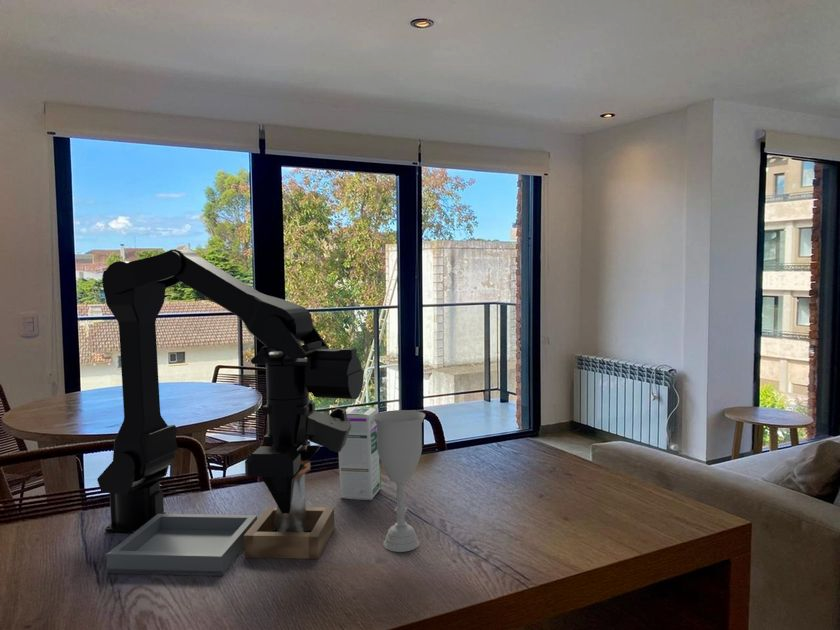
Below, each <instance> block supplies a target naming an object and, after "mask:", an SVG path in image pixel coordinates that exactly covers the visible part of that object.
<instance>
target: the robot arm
mask: <svg viewBox="0 0 840 630" xmlns="http://www.w3.org/2000/svg"><path fill="white" fill-rule="evenodd" d="M102 273H103V274H102V277H101V278H102V279H101V283H102V289H103V293H104V298H105V304H106V306H107V307H108V310H109V311H110V312H111V313H112V315H113V316H114V318H115V319H116V321H117V323H118V333H119V334H118V335H119V347H120V348H119V350H120V352H119V353H120V366H121V383H122V384H121V387H122V402H123V404H122V405H123V421H122V424H121V425H120V428H119V430H118V432H117V434H116V436H115V439H114V443H113V454H112V455H113V456H112V462H111V463H110V464H109V465H108V466H107V467H106V468H105V469H104V471H102V473H101V474H100V475H99V476H98V477H97V479H96V480H97V484H98V486H99V490H100V492H101V493H105V494H109V507H110V523H109V524H108V525H107V526H106V527H104V532H106V533H107V532H112V533H113V532H114V533H116V532H117V533H118V532H119V533H134V532H135V531H137V530H138V529H139V528H140V527H142V526H143V525H144V524H145V523H147V522H148V521H149V520H151V519H152V518H153V517H154V516H156V515H157V514H167V512H166V511H165V509H164V506H165V505H164V503H165V502H164V491H162V490H161V485H160V484H161V480H159V479H161V478H164V477H167V474H168V470H169V467H170V465H171V464H172V463H173V462H174V460H175V456H176V452H177V451H179V447H178V443H177V431H178V430H177V427H176V424H172V425H168V424H167V422H166V421H165V420H164V418H163V416H162V415H161V413H162V412H161V403H160V387H159V386H160V384H159V383H160V381H159V368H158V367H159V366H158V363H159V362H158V350H157V349H158V347H157V345H158V344H157V330H156V328H157V327H156V322H157V318H158V316H159V314H160V312H161V310H162V308H163V306H164V304H165V299H166V298H165V297H166V289H169V288H171V287H174V286H177V285H179V284H180V283H183V284H184V285H186V286H187V287H189V288H191V289H192V290H194V291H196V292H197V293H199V294H200V295H202V296H203V297H206V298H207V299H209V300H210V301H212V302H213V303H215V304H216V305H219V306H220V307H222V308H223V309H225V310H226V311H228V312H229V313H232V315H235V316H236V317H237V318H239V319H240V320H241V322H243V324H244V325H245V327H246V329H247V330H248V332H249V333H250V334H251V335H252V336H253V337H255V338H256V339H257V340H258V341H259V342H260V343H262V344H263V345H264V346H262V347H261V348H260V350H259V352H258V353H256V354H255V355H254V356H253V357H252V358H251V359H250V363H251V364H252V365H265V377H266V378H265V379H266V380H265V383H266V404H264V405H263V406H262V407H261V408H262V410H261V411H262V415H267V433H266V434H265V435H264V436H263V437H262V439H263V440H262V441H263V443H262V444H263V445H262V446H259V447H258V448H256V450H255V451H254V452H252V453H251V454H250V455H249V456H248V457H247V458H246V459H245V460H244V470H245V471H244V472H245V473H244V475H245V476H246V477H248V478H250V477H251V478H255V477H256V478H261V479H262V482H264V484H265V485H266V487H267V489H268V490H269V493H270V494H271V496H272V498H273V500H274V502H275V503H277V505H278V507H279V509H280V511H281V512H282V513H289V512H290V509H291V503H292V495H293V487H294V479H295V476H296V475H297V474H298V473H299V472H300V471H301V470H302V469H303V467H304V466H305V464H300V462H301V459H306V460H308V461H310V459H311V458H312V457H313V456H314V455H316V453H317V452H318V451H319V449H320V448H321V446H322V447H323V448H324V447H325V448H327V449H328V450H329V451H331V452H334V453H338V452H340V451H341V449H342V448H343V446H344V445H345V442H346V440H347V437H348V434H349V431H350V429H351V424H350V423H351V421H348V422H347V414H346V409H344V408H340V407H337V406H336V408H335V409H334V410H332V411H331V412H330V414H328V412H323V413H322V412H319V411H317V410H316V403H315V402H314V400H313V399H310V394H312V396H313V397H315V398H318V399H319V398H323V399H340V400H341V399H344V400H346V399H347V400H356V399H358V398H359V397H360V395H361V394H362V390H363V386H364V379H365V378H364V376H365V375H364V374H365V373H364V369H363V366H362V361H361V360H360V359H359V357H358V353H357V352H358V351H357V348H355V347H345V348H341V349H340V348H330V347H329V346H328V344H327V343H326V341H325V340H324V339H323V337H322V335H321V334H320V333H319V331H318V330H317V329H316V327H315V326H314V321H313V319H312V314H311V312H310V311H309V310H308V309H307V308H305V307H304V306H302V305H301V304H300V305H299V304H297V303H294V302H292V301H289V300H286V299H283V298H279V297H276V296H272V295H269V294H268V295H267V294H264V293H262V292H260V291H258V290H257V289H255V288H253V287H252V286H250V285H248V284H247V283H245V282H244V281H241V280H240V279H238V278H236V277H234V276H233V275H231V274H230V273H229V272H226V271H224V270H223V269H221V268H219V267H218V266H217V265H214V264H213V263H211V262H209V261H208V260H206V259H205V258H203V257H201V255H200V254H198V253H197V252H196V251H194V250H191V249H178V248H177V249H176V248H175V249H170V250H168V251H167V250H166V251H165V252H162V253H160V254H157V255H153V256H148V257H144V258H140V259H136V260H132V261H131V260H130V261H129V260H127V261H126V260H118V261H115V262H112V263H110V264H109V265H108V267H107V268H106V269H105V270H103V272H102ZM311 443H313V444H316V445H311ZM265 445H268V446H265ZM270 445H272V446H270Z"/></svg>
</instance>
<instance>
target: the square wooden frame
mask: <svg viewBox="0 0 840 630" xmlns="http://www.w3.org/2000/svg"><path fill="white" fill-rule="evenodd" d="M335 528H336V527H335V507H330V506H329V507H328V506H327V507H325V506H324V507H320V506H319V507H318V506H317V507H316V506H312V507H311V506H306V532H277V506H267V507H266V508H265V510H264V511H263V512H262V513H261V515H260V516H259V517H257V520H256V522H255V523H254V524H253V525H252V526H251V527H250V529H249V530H248V531H247V532H246V533H245V535H244V549H243V553H244V558H251V559H252V558H258V559H261V558H262V559H263V558H265V559H306V560H309V559H310V560H316V559H317V560H319V558H320V557H321V555H322V552H323V551H324V549H325V547H326V545H327V543H328V541H329V540H330V537H331V535H332V533H333V531H334V529H335ZM307 531H308V532H307ZM309 531H311V532H309Z"/></svg>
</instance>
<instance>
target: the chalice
mask: <svg viewBox="0 0 840 630" xmlns="http://www.w3.org/2000/svg"><path fill="white" fill-rule="evenodd" d="M425 417H426V413H424V412H422V411H418V410H410V409H409V410H408V409H401V410H400V409H399V410H396V409H395V410H394V409H393V410H386V411H382V412H378V413H377V414H375V415H374V416H373V419H374V420H375V422H376V424H377V452H378V455H379V458H380V464H381V466H382V467H383V469H384V471H385V473H386V475H387V477H388V479H389V481H390V482H392V483H395V484H396V494H395V495H394V499H396V502H397V503H396V507H394V512H396V515H397V520H396V522H395V523H394V524H393V525H391V526H390V527H389V529H388V530H387V534H386V535H385V539H384V541H383V543H382V545H383V548H384V549H386V550H388V551H391V552H398V553H402V552H409V551H413V550H416V549H417V548H418V547H419V546H420V540H419V538H418V537H417V536H418V535H417V534H416V531H415V528H414V527H413V526H412V525H410V524H408V522H406V519H405V514H406V512H407V511H408V508H407V507H406V505H405V500H406V498H407V494H406V491H405V483H407V482H409V481H411V479H412V477H413V475H414V473H415V470H416V469H417V467H418V464H419V461H420V458H421V455H422V451H423V431H422V430H423V428H422V427H423V426H422V425H423V424H422V423H423V422H424V419H425Z"/></svg>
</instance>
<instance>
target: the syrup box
mask: <svg viewBox="0 0 840 630" xmlns="http://www.w3.org/2000/svg"><path fill="white" fill-rule="evenodd" d="M345 410H346V414H347V422H348V421H351V423H350V424H351V429H350V431H349V434H348V437H347V440H346V442H345V445H344V446H343V448H342V449H341V451H340V452H337V453H338V473H339V496H340V498H341V499H348V500H361V501H362V500H363V501H373V499H374V497H375V496H376V495H377V493H379V491H380V490H381V489H382V475H381V470H382V469H381V460H380V458H379V455H378V452H377V424H376V422H375V420H374V419H373V416H374V415H375V414H377V413H379V408H377V407H371V406H351V407H350V406H347V408H346V409H345Z"/></svg>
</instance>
